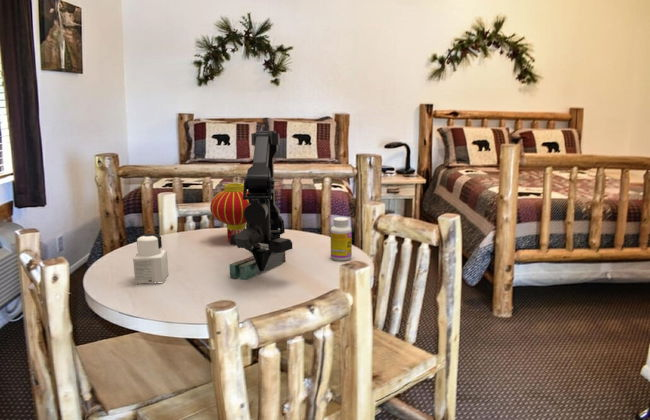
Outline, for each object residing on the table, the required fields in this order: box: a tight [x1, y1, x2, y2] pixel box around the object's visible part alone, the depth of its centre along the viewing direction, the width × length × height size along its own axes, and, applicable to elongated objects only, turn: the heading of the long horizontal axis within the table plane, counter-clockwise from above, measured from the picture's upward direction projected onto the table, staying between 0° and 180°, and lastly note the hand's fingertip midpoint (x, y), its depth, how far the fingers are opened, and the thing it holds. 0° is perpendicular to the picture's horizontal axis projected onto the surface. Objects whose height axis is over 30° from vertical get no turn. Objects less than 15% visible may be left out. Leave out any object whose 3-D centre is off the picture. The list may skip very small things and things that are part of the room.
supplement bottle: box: [330, 216, 353, 262], centre depth 174 cm, size 7×7×13 cm
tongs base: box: [228, 251, 287, 280], centre depth 165 cm, size 4×22×4 cm, turn 145°
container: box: [132, 233, 169, 283], centre depth 156 cm, size 8×8×13 cm
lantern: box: [209, 164, 249, 243], centre depth 195 cm, size 17×17×30 cm
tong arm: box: [239, 252, 284, 281], centre depth 163 cm, size 2×18×4 cm, turn 149°
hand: (261, 271), depth 158 cm, fingers closed
